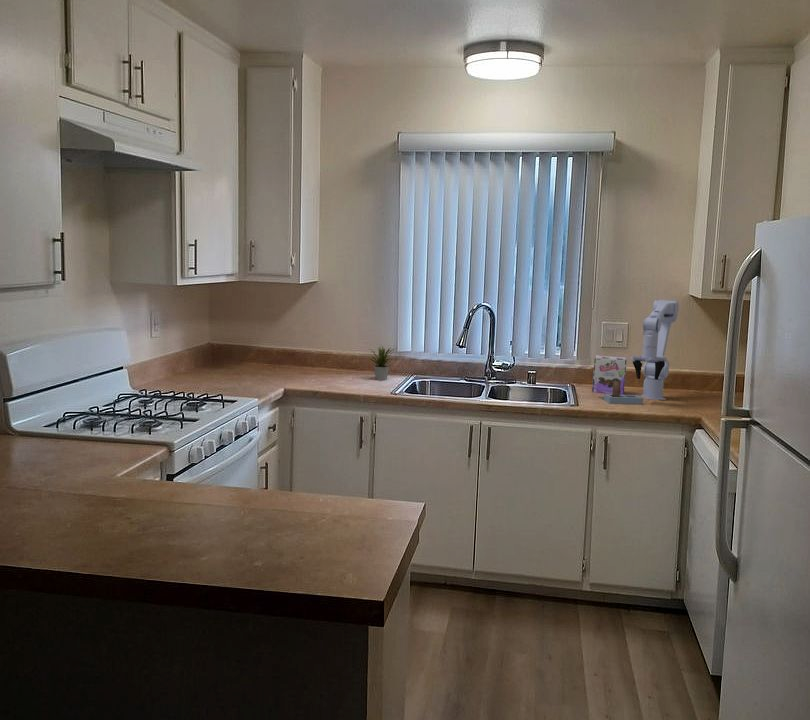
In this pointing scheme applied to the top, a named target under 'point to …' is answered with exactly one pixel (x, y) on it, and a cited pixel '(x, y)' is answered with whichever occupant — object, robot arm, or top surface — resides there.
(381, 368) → the house plant
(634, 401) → the hole block
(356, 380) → the top surface
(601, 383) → the candy box
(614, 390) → the dowel
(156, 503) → the top surface
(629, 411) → the top surface
